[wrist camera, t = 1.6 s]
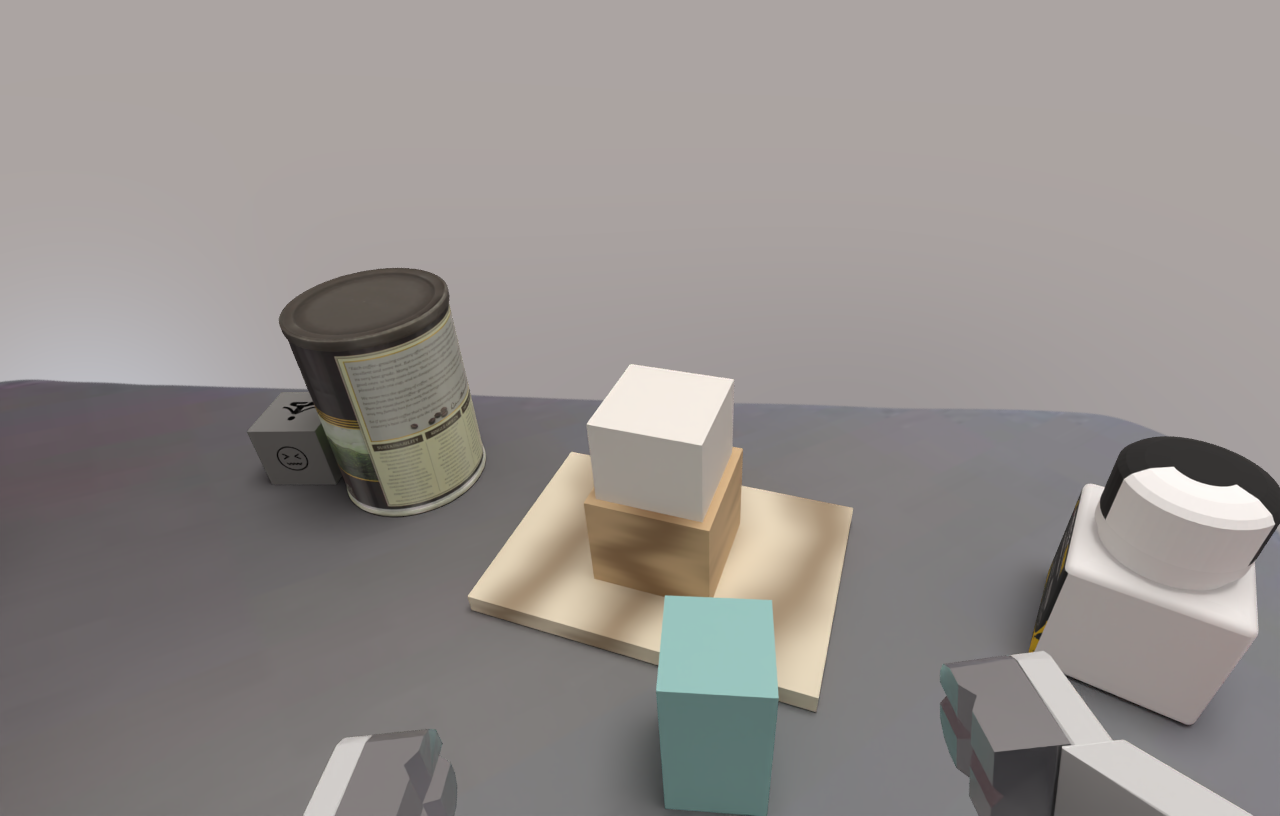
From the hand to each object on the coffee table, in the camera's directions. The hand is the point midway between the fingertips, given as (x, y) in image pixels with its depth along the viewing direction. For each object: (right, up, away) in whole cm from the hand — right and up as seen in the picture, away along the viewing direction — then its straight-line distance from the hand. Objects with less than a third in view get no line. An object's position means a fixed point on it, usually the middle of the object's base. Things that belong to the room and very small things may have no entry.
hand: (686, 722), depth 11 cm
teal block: (+3, -12, +21) cm, 24 cm away
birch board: (+1, -5, +32) cm, 32 cm away
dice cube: (-26, +1, +42) cm, 49 cm away
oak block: (+1, -4, +31) cm, 31 cm away
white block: (+1, +1, +27) cm, 28 cm away
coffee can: (-17, 0, +41) cm, 44 cm away
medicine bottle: (+24, -7, +25) cm, 36 cm away
